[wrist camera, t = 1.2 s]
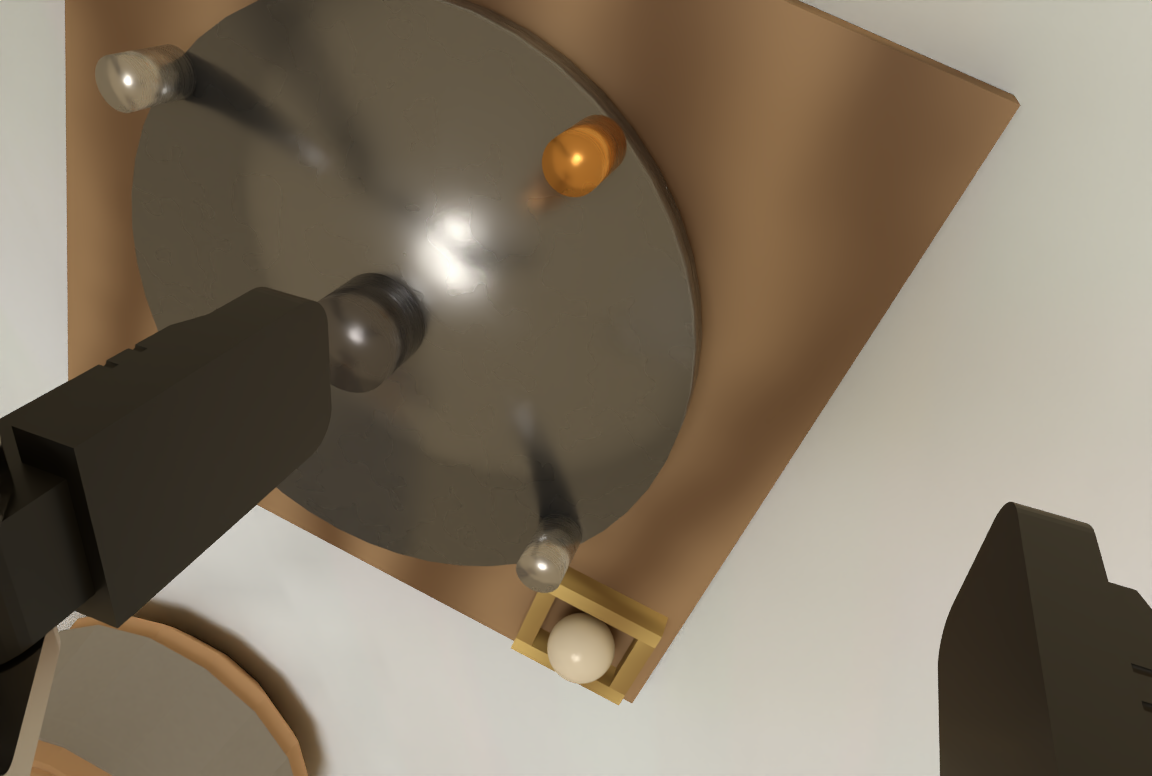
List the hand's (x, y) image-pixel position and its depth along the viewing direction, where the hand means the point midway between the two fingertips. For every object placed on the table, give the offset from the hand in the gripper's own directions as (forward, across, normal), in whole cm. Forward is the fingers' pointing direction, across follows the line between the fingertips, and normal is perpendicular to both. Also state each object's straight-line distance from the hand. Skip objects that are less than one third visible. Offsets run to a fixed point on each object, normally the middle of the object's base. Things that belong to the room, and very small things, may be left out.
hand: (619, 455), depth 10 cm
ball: (+18, +4, +24) cm, 30 cm away
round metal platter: (+18, +13, +10) cm, 25 cm away
